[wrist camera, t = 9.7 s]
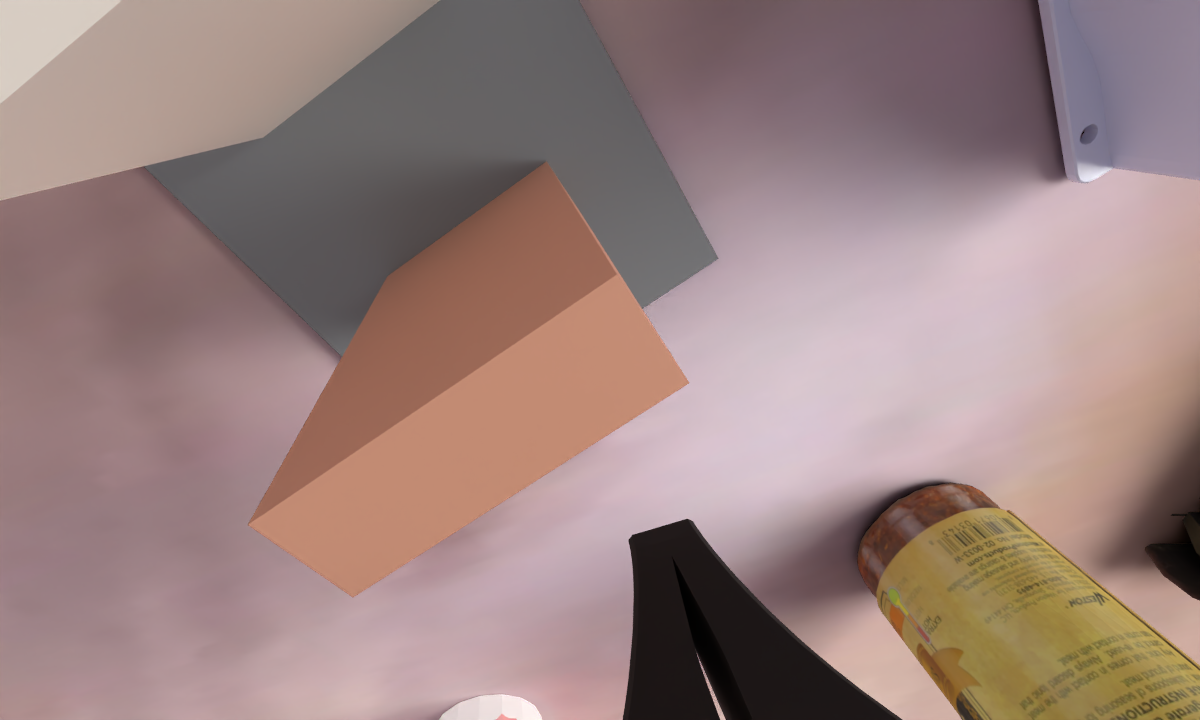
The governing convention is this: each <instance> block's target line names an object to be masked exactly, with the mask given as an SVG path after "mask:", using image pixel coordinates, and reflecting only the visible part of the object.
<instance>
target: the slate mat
mask: <svg viewBox="0 0 1200 720" xmlns="http://www.w3.org/2000/svg"><path fill="white" fill-rule="evenodd" d="M546 161H547V163H548V164H549V166H550V167H551V169H552V170H553V172H554V173H555V175H556V176H557V178H558V179H559V181H560V182H561V184H562V185H563V187H564V188H565V190H566V191H567V193H568V194H569V196H570V197H571V199H572V200H573V202H574V203H575V205H576V206H577V208H578V209H579V211H580V213H581V214H582V216H583V217H584V219H585V220H586V222H587V223H588V225H589V226H590V228H591V230H592V231H593V233H594V234H595V236H596V237H597V239H598V241H599V242H600V244H601V245H602V247H603V248H604V250H605V252H606V253H607V255H608V256H609V258H610V259H611V261H612V263H613V264H614V266H615V267H616V269H617V270H618V272H619V273H620V275H621V277H622V278H623V280H624V281H625V283H626V284H627V286H628V288H629V289H630V291H631V292H632V294H633V295H634V297H635V299H636V300H637V302H638V303H639V305H640V306H641V308H644V307H646V306H647V305H649V304H650V303H652V302H653V301H655V300H656V299H658V298H659V297H661V296H662V295H664V294H665V293H667V292H668V291H670V290H671V289H673V288H674V287H676V286H677V285H679V284H681V283H682V282H684V281H685V280H687V279H688V278H690V277H691V276H693V275H694V274H696V273H697V272H699V271H700V270H702V269H703V268H705V267H706V266H708V265H709V264H711V263H712V262H714V261H716V260H717V259H718V257H717V255H716V253H715V251H714V250H713V248H712V246H711V244H710V242H709V240H708V239H707V237H706V235H705V233H704V231H703V229H702V227H701V226H700V224H699V222H698V220H697V218H696V216H695V214H694V213H693V211H692V209H691V207H690V205H689V203H688V201H687V200H686V198H685V196H684V194H683V192H682V190H681V189H680V187H679V185H678V183H677V181H676V179H675V177H674V176H673V174H672V172H671V170H670V168H669V166H668V164H667V163H666V161H665V159H664V157H663V155H662V153H661V151H660V150H659V148H658V146H657V144H656V142H655V140H654V139H653V137H652V135H651V133H650V131H649V129H648V127H647V126H646V124H645V122H644V120H643V118H642V116H641V114H640V113H639V111H638V109H637V107H636V105H635V103H634V101H633V100H632V98H631V96H630V94H629V92H628V90H627V88H626V87H625V85H624V83H623V81H622V79H621V77H620V76H619V74H618V72H617V70H616V68H615V66H614V64H613V63H612V61H611V59H610V57H609V55H608V53H607V51H606V50H605V48H604V46H603V44H602V42H601V40H600V38H599V37H598V35H597V33H596V31H595V29H594V27H593V26H592V24H591V22H590V20H589V18H588V16H587V14H586V13H585V11H584V9H583V7H582V5H581V3H580V1H579V0H440V1H438V2H437V3H436V4H435V5H433V6H432V7H431V8H429V9H428V10H427V11H426V12H424V13H423V14H422V15H420V16H419V17H418V18H417V19H415V20H414V21H413V22H411V23H410V24H409V25H408V26H406V27H405V28H404V29H402V30H401V31H400V32H399V33H397V34H396V35H395V36H393V37H392V38H391V39H389V40H388V41H387V42H386V43H384V44H383V45H382V46H380V47H379V48H378V49H377V50H375V51H374V52H373V53H371V54H370V55H369V56H368V57H366V58H365V59H364V60H362V61H361V62H360V63H359V64H357V65H356V66H355V67H353V68H352V69H351V70H350V71H348V72H347V73H346V74H344V75H343V76H342V77H341V78H339V79H338V80H337V81H335V82H334V83H333V84H332V85H330V86H329V87H328V88H326V89H325V90H324V91H323V92H321V93H320V94H319V95H317V96H316V97H315V98H314V99H312V100H311V101H310V102H308V103H307V104H306V105H305V106H303V107H302V108H301V109H299V110H298V111H297V112H295V113H294V114H293V115H292V116H290V117H289V118H288V119H286V120H285V121H284V122H283V123H281V124H280V125H279V126H277V127H276V128H275V129H274V130H272V131H271V132H270V133H268V134H267V135H266V136H265V137H263V138H259V139H255V140H251V141H247V142H242V143H238V144H234V145H230V146H226V147H222V148H218V149H213V150H209V151H205V152H201V153H197V154H193V155H188V156H184V157H180V158H176V159H172V160H168V161H163V162H159V163H155V164H151V165H147V166H144V167H145V168H146V169H147V170H148V171H149V172H150V173H151V174H152V175H153V176H154V177H155V178H156V179H157V180H158V181H159V182H160V183H161V184H162V185H163V186H164V187H165V188H166V189H167V190H169V191H170V192H171V193H172V194H173V195H174V196H175V197H176V198H177V199H178V200H179V201H180V202H181V203H182V204H183V205H184V206H185V207H186V208H187V209H188V210H189V211H190V212H191V213H193V214H194V215H195V216H196V217H197V218H198V219H199V220H200V221H201V222H202V223H203V224H204V225H205V226H206V227H207V228H208V229H209V230H210V231H211V232H212V233H213V234H214V235H215V236H216V237H218V238H219V239H220V240H221V241H222V242H223V243H224V244H225V245H226V246H227V247H228V248H229V249H230V250H231V251H232V252H233V253H234V254H235V255H236V256H237V257H238V258H239V259H240V260H242V261H243V262H244V263H245V264H246V265H247V266H248V267H249V268H250V269H251V270H252V271H253V272H254V273H255V274H256V275H257V276H258V277H259V278H260V279H261V280H262V281H263V282H264V283H265V284H267V285H268V286H269V287H270V288H271V289H272V290H273V291H274V292H275V293H276V294H277V295H278V296H279V297H280V298H281V299H282V300H283V301H284V302H285V303H286V304H287V305H288V306H289V307H291V308H292V309H293V310H294V311H295V312H296V313H297V314H298V315H299V316H300V317H301V318H302V319H303V320H304V321H305V322H306V323H307V324H308V325H309V326H310V327H311V328H312V329H313V330H314V331H316V332H317V333H318V334H319V335H320V336H321V337H322V338H323V339H324V340H325V341H326V342H327V343H328V344H329V345H330V346H331V347H332V348H333V349H334V350H335V351H336V352H337V353H338V354H340V355H341V356H343V354H344V353H345V351H346V349H347V347H348V346H349V344H350V342H351V340H352V338H353V337H354V335H355V333H356V331H357V330H358V328H359V326H360V324H361V322H362V321H363V319H364V317H365V315H366V313H367V312H368V310H369V308H370V306H371V305H372V303H373V301H374V299H375V297H376V296H377V294H378V292H379V290H380V289H381V287H382V285H383V283H384V281H385V280H386V278H387V276H388V275H390V274H391V273H393V272H394V271H395V270H397V269H398V268H399V267H401V266H402V265H404V264H405V263H406V262H408V261H409V260H411V259H412V258H413V257H415V256H416V255H417V254H419V253H420V252H422V251H423V250H424V249H426V248H427V247H429V246H430V245H431V244H433V243H434V242H435V241H437V240H438V239H440V238H441V237H442V236H444V235H445V234H447V233H448V232H449V231H451V230H452V229H453V228H455V227H456V226H458V225H459V224H460V223H462V222H463V221H465V220H466V219H467V218H469V217H470V216H471V215H473V214H474V213H476V212H477V211H478V210H480V209H481V208H483V207H484V206H485V205H487V204H488V203H490V202H491V201H492V200H494V199H495V198H496V197H498V196H499V195H501V194H502V193H503V192H505V191H506V190H508V189H509V188H510V187H512V186H513V185H514V184H516V183H517V182H519V181H520V180H521V179H523V178H524V177H526V176H527V175H528V174H530V173H531V172H532V171H534V170H535V169H537V168H538V167H539V166H541V165H542V164H544V163H545V162H546Z"/></svg>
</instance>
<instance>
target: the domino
mask: <svg viewBox="0 0 1200 720" xmlns="http://www.w3.org/2000/svg"><path fill="white" fill-rule="evenodd" d="M438 1H440V0H0V201H1V200H5V199H10V198H14V197H18V196H22V195H26V194H30V193H35V192H39V191H43V190H47V189H51V188H55V187H59V186H64V185H68V184H72V183H76V182H80V181H84V180H89V179H93V178H97V177H101V176H105V175H109V174H114V173H118V172H122V171H126V170H130V169H134V168H138V167H143V166H147V165H151V164H155V163H159V162H163V161H168V160H172V159H176V158H180V157H184V156H188V155H193V154H197V153H201V152H205V151H209V150H213V149H218V148H222V147H226V146H230V145H234V144H238V143H242V142H247V141H251V140H255V139H259V138H263V137H265V136H266V135H267V134H268V133H270V132H271V131H272V130H274V129H275V128H276V127H277V126H279V125H280V124H281V123H283V122H284V121H285V120H286V119H288V118H289V117H290V116H292V115H293V114H294V113H295V112H297V111H298V110H299V109H301V108H302V107H303V106H305V105H306V104H307V103H308V102H310V101H311V100H312V99H314V98H315V97H316V96H317V95H319V94H320V93H321V92H323V91H324V90H325V89H326V88H328V87H329V86H330V85H332V84H333V83H334V82H335V81H337V80H338V79H339V78H341V77H342V76H343V75H344V74H346V73H347V72H348V71H350V70H351V69H352V68H353V67H355V66H356V65H357V64H359V63H360V62H361V61H362V60H364V59H365V58H366V57H368V56H369V55H370V54H371V53H373V52H374V51H375V50H377V49H378V48H379V47H380V46H382V45H383V44H384V43H386V42H387V41H388V40H389V39H391V38H392V37H393V36H395V35H396V34H397V33H399V32H400V31H401V30H402V29H404V28H405V27H406V26H408V25H409V24H410V23H411V22H413V21H414V20H415V19H417V18H418V17H419V16H420V15H422V14H423V13H424V12H426V11H427V10H428V9H429V8H431V7H432V6H433V5H435V4H436V3H437V2H438Z"/></svg>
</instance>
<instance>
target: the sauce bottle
mask: <svg viewBox="0 0 1200 720" xmlns="http://www.w3.org/2000/svg"><path fill="white" fill-rule="evenodd" d="M857 563H858V568H859V571H860V573H861V576H862V578H863V580H864V582H865V584H866V585H867V586H868V588H869V589H870V590H871V592H872V594H873V595H874V596H875V597H876V598H877V602H878V606H879V608H880V610H881V612H882V613H883V614H884V616H885V617H886V618H887V620H888V621H889V622H890V624H891V625H892V626H893V628H894V629H895V630H896V632H897V633H898V634H899V636H900V637H901V638H902V640H903V641H904V642H905V644H906V645H907V646H908V648H909V649H910V650H911V652H912V653H913V654H914V656H915V657H916V658H917V660H918V661H919V662H920V664H921V665H922V666H923V668H924V669H925V670H926V672H927V673H928V674H929V675H930V677H931V678H932V679H933V681H934V682H935V683H936V685H937V686H938V687H939V689H940V690H941V691H942V693H943V694H944V695H945V697H946V698H947V699H948V701H949V702H950V703H951V705H952V706H953V707H954V709H955V710H956V711H957V713H958V714H959V716H960V717H961V719H962V720H1200V665H1198V664H1197V663H1196V662H1195V661H1194V660H1192V659H1191V658H1190V657H1189V656H1187V655H1186V654H1185V653H1184V652H1183V651H1181V650H1180V649H1179V648H1178V647H1176V646H1175V645H1174V644H1173V643H1172V642H1170V641H1169V640H1168V639H1167V638H1165V637H1164V636H1163V635H1162V634H1161V633H1159V632H1158V631H1157V630H1156V629H1154V628H1153V627H1152V626H1151V625H1150V624H1148V623H1147V622H1146V621H1145V620H1143V619H1142V618H1141V617H1140V616H1139V615H1137V614H1136V613H1135V612H1134V611H1132V610H1131V609H1130V608H1129V607H1128V606H1126V605H1125V604H1124V603H1123V602H1121V601H1120V600H1119V599H1118V598H1117V597H1115V596H1114V595H1113V594H1112V593H1110V592H1109V591H1108V590H1107V589H1106V588H1104V587H1103V586H1102V585H1101V584H1099V583H1098V582H1097V581H1096V580H1095V579H1093V578H1092V577H1091V576H1090V575H1088V574H1087V573H1086V572H1085V571H1083V570H1082V569H1081V568H1080V567H1079V566H1077V565H1076V564H1075V563H1074V562H1072V561H1071V560H1070V559H1069V558H1067V557H1066V556H1065V555H1064V554H1062V553H1061V552H1060V551H1059V550H1058V549H1056V548H1055V547H1054V546H1053V545H1051V544H1050V543H1049V542H1048V541H1046V540H1045V539H1044V538H1043V537H1042V536H1040V535H1039V534H1038V533H1037V532H1036V531H1034V530H1033V529H1032V528H1031V527H1030V526H1028V525H1027V524H1026V523H1025V522H1024V521H1022V520H1021V519H1020V518H1019V517H1018V516H1016V515H1015V514H1014V513H1013V512H1011V511H1010V510H1007V511H1005V510H1003V509H1000V508H999V507H998V505H997V504H995V503H994V502H993V501H992V500H991V499H990V498H989V497H987V496H986V495H985V494H984V493H983V492H982V491H980V490H978V489H976V488H974V487H972V486H969V485H963V484H955V483H948V484H941V485H938V486H928V487H925V488H922V489H920V490H917V491H915V492H913V493H911V494H910V495H908V496H906V497H904V498H901V499H898V500H897V501H896V502H895V503H894V504H892V505H891V506H890V507H889V508H888V509H887V510H886V511H884V512H883V513H882V514H881V515H880V517H879V518H878V519H877V520H876V521H875V522H874V523H873V524H872V525H871V526H870V528H869V529H868V530H867V532H866V533H865V535H864V536H863V538H862V540H861V542H860V546H859V551H858V561H857Z"/></svg>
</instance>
